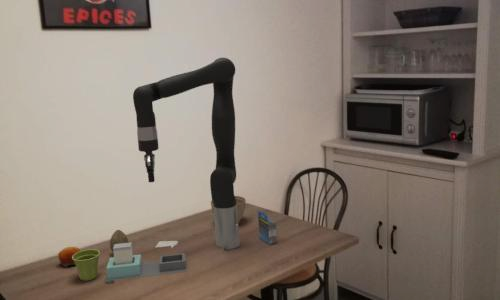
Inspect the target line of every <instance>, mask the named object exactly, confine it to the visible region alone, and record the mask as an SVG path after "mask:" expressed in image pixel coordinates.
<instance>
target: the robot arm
mask: <svg viewBox="0 0 500 300" xmlns="http://www.w3.org/2000/svg"><path fill="white" fill-rule="evenodd" d="M235 66H236V65H235V63H234V62H233V61H232V60H231V59H229V58H228V57H219V58H217V59H215V60H213V61H212V62H211V63H209V64H207V65H205V66H203V67H201V68H197V69H195V70H192V71H187V72H184V73H183V72H182V73H179V74H176V75H172V76H169V77H166V78H163V79H160V80H158V81H156V82H151V83H148V84H144V85H140V86H138V87H136V88H135V89H134V91H133V93H132V99H133V101H132V102H133V106H134V110H135V114H136V126H137V129H136V131H137V133H136V134H137V143H138V144H137V146H138V151H139V152H142V153H144V152H145V154H144V156H143V161H144V164H145V168H146V173H147V178H148V183H154V182H155V167H156V165H155V163H156V162H155V159H156V157H155V156H156V155H155V153H153V152H154V151H158V150H159V138H158V130H157V122H156V115H155V112H154V107H153V102H155V101H158V100H159V101H160V100H161V99H166V98H171V97H175V96H176V95H179V94H182V93H186V92H188V91H190V90H194V89H197V88H199V87H202V86H206V85H210V84H212V86H213V87H212V88H213V98H212V100H213V101H212V108H211V135H212V140H213V143H214V146H215V147H214V148H215V151H216V160H215V168H214V170H213V171H212V172H211V174H210V179H209V184H210V185H209V186H210V194H211V196H210V197H211V201H213V205H214V214H213V216H214V217H213V218H214V230H215V231H214V232H215V234H214V235H215V246H217V248H222V249H223V250H234V249H235V248H239V247H240V230H239V223H237V205H236V198H235V196H236V195H235V191H234V190H235V188H234V183H235V182H236V181H237V168H236V161H235V160H236V158H235V145H236V144H235V143H236V112H235V110H236V109H235V103H234V97H233V96H234V95H233V87H234V86H233V85H234V76H235V74H236V67H235Z"/></svg>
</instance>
